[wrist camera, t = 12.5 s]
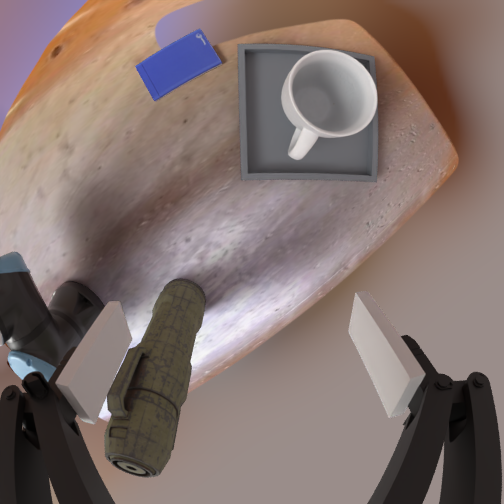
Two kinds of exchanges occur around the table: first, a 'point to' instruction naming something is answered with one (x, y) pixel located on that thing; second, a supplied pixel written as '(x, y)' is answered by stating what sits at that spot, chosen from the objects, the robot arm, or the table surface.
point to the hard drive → (178, 64)
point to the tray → (282, 130)
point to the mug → (327, 98)
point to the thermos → (154, 383)
